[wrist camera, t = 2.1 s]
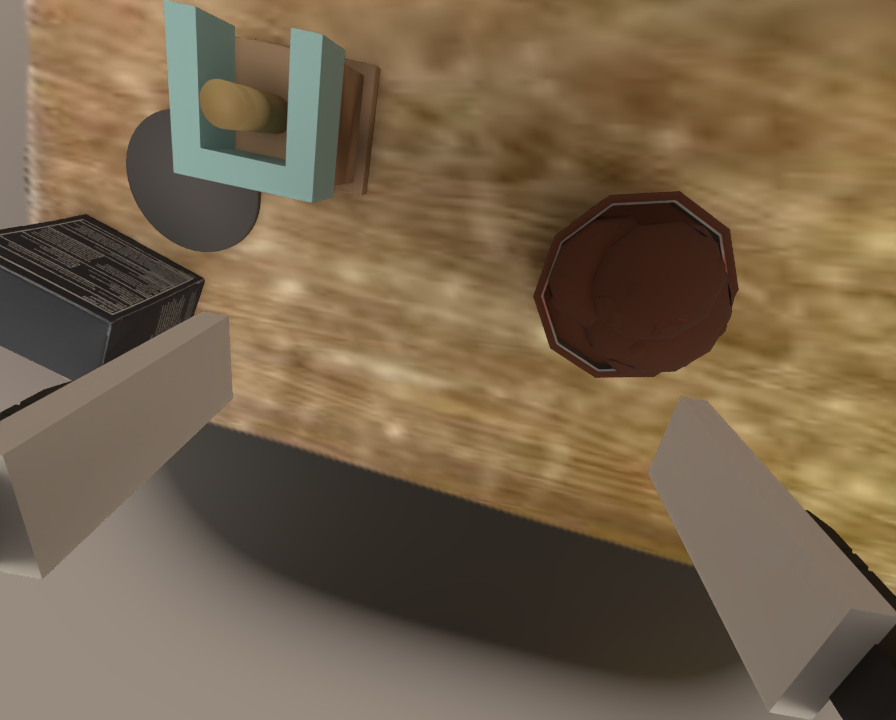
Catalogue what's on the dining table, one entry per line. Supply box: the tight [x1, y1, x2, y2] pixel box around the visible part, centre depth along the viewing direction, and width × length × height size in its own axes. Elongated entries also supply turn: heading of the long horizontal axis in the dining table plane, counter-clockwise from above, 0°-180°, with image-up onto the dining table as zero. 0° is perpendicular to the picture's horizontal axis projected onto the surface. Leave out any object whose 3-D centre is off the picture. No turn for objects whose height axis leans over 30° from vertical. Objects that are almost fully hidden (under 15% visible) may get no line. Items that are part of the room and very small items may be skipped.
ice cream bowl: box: [533, 191, 739, 378], centre depth 27 cm, size 11×11×15 cm
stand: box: [200, 37, 380, 195], centre depth 26 cm, size 8×8×12 cm
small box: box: [0, 214, 204, 381], centre depth 33 cm, size 11×6×10 cm, turn 60°
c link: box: [164, 0, 345, 203], centre depth 24 cm, size 8×8×4 cm
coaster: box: [126, 109, 261, 252], centre depth 34 cm, size 10×10×1 cm
